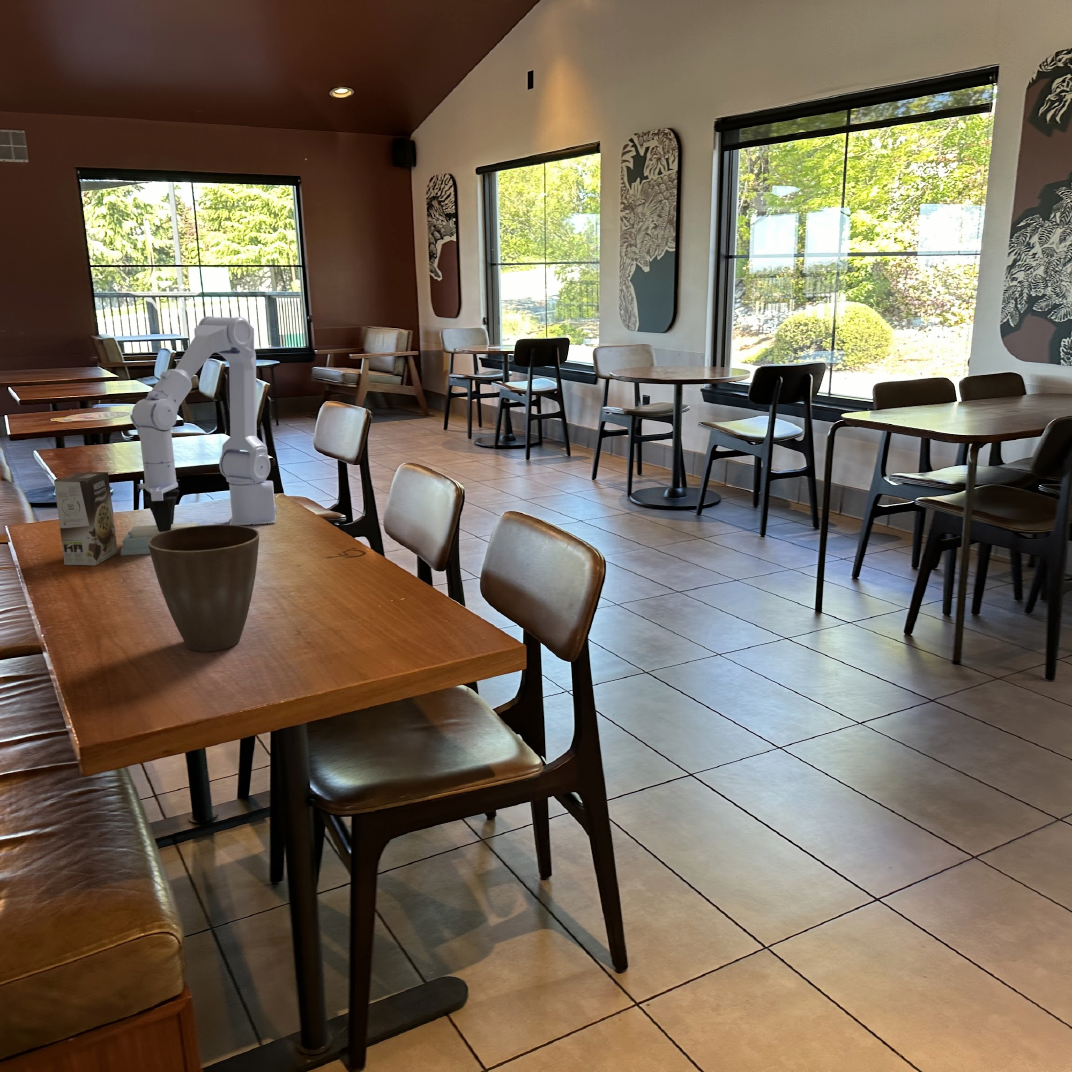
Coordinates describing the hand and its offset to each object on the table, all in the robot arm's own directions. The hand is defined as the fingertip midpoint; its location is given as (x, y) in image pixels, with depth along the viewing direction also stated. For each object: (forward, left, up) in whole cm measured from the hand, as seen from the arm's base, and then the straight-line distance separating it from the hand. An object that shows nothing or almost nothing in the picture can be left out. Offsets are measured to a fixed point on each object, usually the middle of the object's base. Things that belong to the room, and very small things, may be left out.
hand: (165, 529), depth 189 cm
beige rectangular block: (0, 0, -3) cm, 3 cm away
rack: (0, 0, -4) cm, 4 cm away
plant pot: (-13, +57, -4) cm, 59 cm away
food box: (+13, +5, -4) cm, 15 cm away
